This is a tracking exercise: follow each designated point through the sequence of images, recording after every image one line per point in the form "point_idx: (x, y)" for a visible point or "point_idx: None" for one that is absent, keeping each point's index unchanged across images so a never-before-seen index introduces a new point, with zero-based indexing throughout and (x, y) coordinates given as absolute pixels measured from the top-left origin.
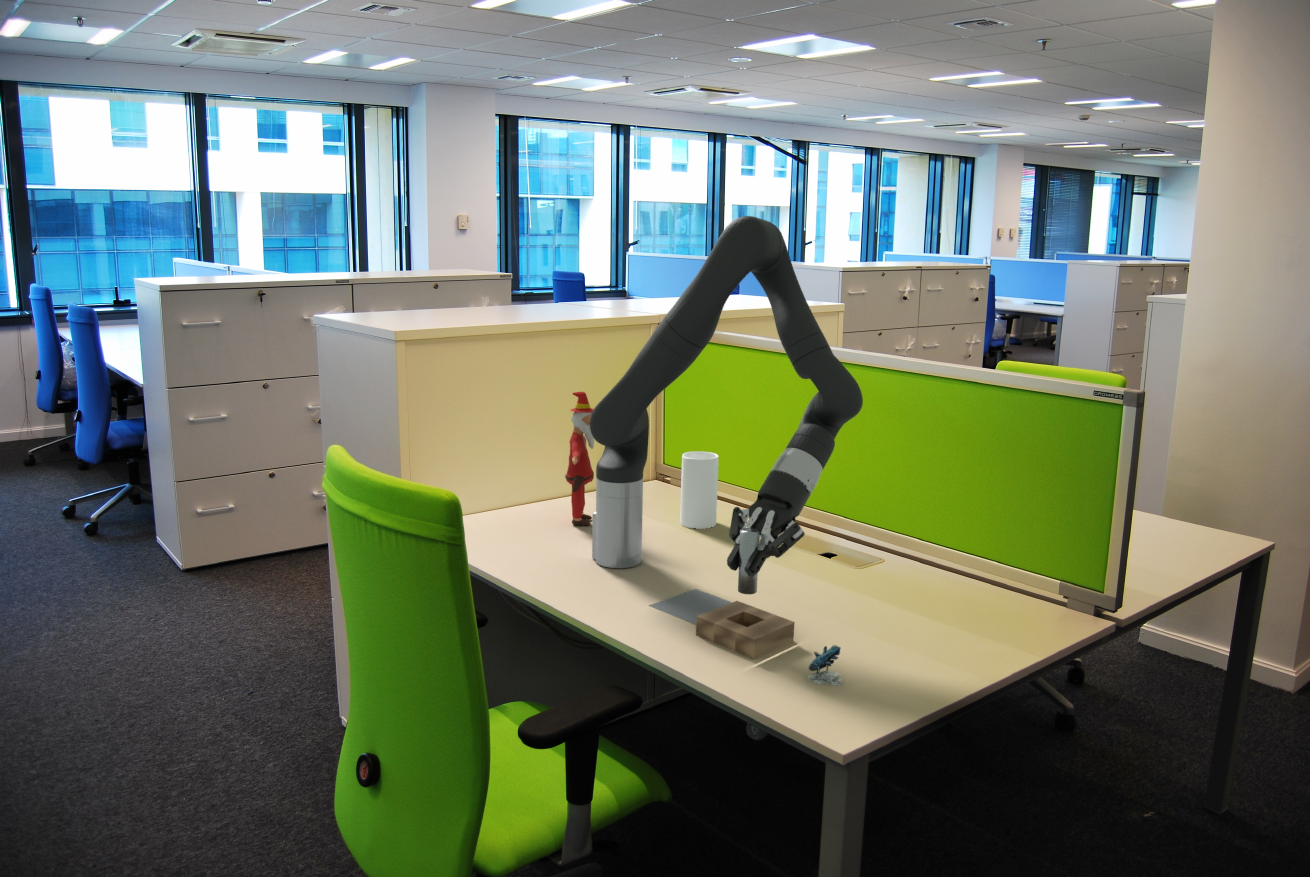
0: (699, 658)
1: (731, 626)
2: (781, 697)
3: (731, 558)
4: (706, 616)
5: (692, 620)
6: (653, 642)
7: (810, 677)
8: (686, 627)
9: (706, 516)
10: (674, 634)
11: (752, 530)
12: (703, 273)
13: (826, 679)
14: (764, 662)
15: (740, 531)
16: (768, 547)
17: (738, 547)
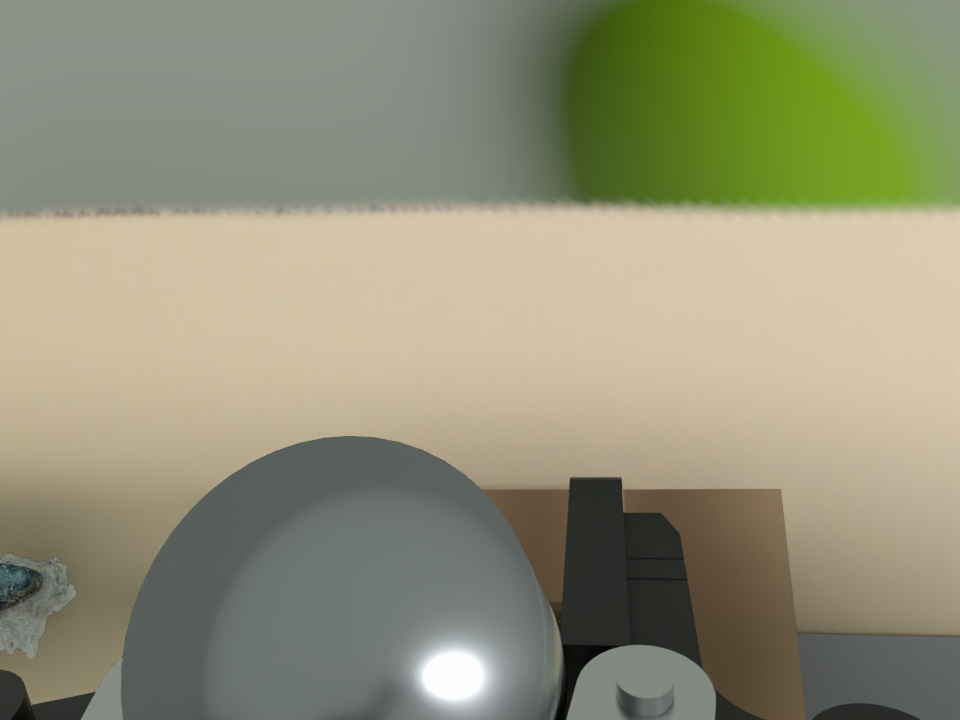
0: (552, 352)
1: (516, 533)
2: (90, 349)
3: (593, 508)
4: (737, 535)
5: (956, 671)
6: (840, 308)
7: (43, 563)
8: (903, 581)
9: None
10: (859, 455)
11: (284, 703)
12: None
13: None
14: None
15: (453, 468)
16: (21, 687)
17: (578, 611)
